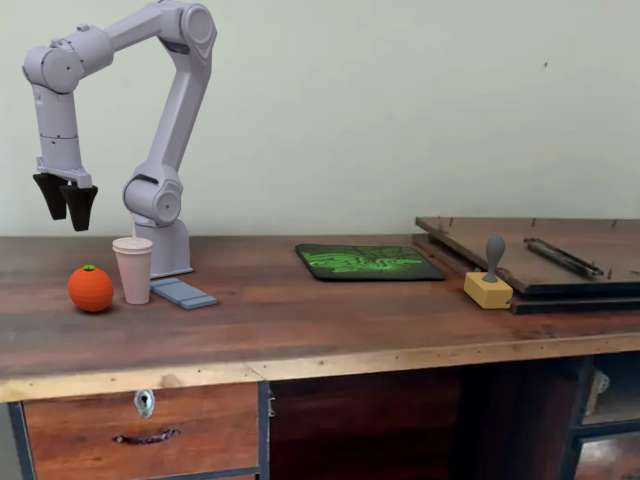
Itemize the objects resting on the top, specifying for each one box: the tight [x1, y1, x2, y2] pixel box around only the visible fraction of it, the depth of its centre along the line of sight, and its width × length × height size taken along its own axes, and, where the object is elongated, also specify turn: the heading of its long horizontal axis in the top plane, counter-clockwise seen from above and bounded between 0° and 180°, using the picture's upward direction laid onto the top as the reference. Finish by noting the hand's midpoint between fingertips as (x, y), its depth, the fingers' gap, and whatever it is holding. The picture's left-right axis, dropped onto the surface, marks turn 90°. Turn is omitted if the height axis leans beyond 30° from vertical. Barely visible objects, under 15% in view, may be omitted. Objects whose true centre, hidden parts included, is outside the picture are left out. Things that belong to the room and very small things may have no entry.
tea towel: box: [149, 277, 218, 311], centre depth 134 cm, size 6×13×1 cm, turn 45°
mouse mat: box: [294, 243, 446, 281], centre depth 159 cm, size 27×22×1 cm
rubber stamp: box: [463, 234, 514, 309], centre depth 144 cm, size 10×6×12 cm, turn 16°
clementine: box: [67, 264, 115, 313], centre depth 124 cm, size 8×7×7 cm
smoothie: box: [112, 214, 153, 305], centre depth 127 cm, size 6×6×14 cm
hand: (70, 224), depth 128 cm, fingers open, 7 cm apart
